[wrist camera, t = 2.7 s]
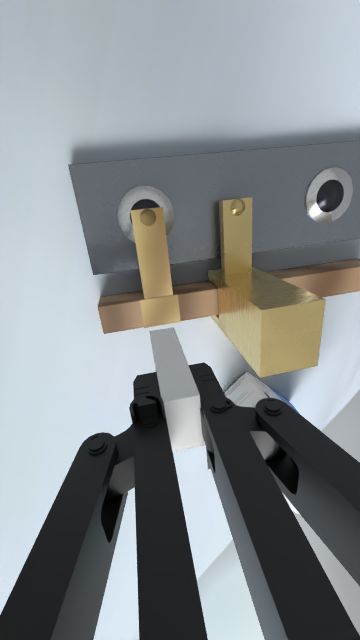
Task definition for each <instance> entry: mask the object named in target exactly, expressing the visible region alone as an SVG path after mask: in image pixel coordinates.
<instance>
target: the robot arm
mask: <svg viewBox="0 0 360 640" xmlns="http://www.w3.org/2000/svg"><path fill="white" fill-rule="evenodd" d="M150 338H151V344H152V350H153V357H154V363H155V369H156V372H154V373H148V374H143V375H137V377H136V379H135V380H134V382H133V385H134V400H133V401H132V403H131V404H130V408H129V409H130V413H131V418H132V422H133V424H132V425H131V426H130V427H129V428H128V429H127V430H126V431H124V432H123V433H121V434H119V435H117V436H115V437H114V436H112V435H111V434H109V433H104V432H103V433H97V434H94V435H92V436H90V437H89V438H87V439H86V440H85V441H84V442H83V443H82V445H81V446H80V448H79V450H78V452H77V454H76V456H75V459H74V461H73V463H72V465H71V467H70V469H69V471H68V473H67V475H66V478H65V480H64V482H63V484H62V486H61V488H60V490H59V492H58V494H57V497H56V499H55V501H54V503H53V505H52V507H51V509H50V511H49V513H48V516H47V518H46V520H45V522H44V524H43V526H42V528H41V530H40V532H39V535H38V537H37V539H36V541H35V543H34V545H33V547H32V549H31V552H30V554H29V556H28V558H27V560H26V562H25V564H24V566H23V568H22V571H21V573H20V575H19V577H18V579H17V581H16V583H15V585H14V587H13V590H12V592H11V594H10V596H9V598H8V600H7V602H6V604H5V606H4V609H3V611H2V613H1V615H0V640H93V638H94V634H95V630H96V626H97V621H98V617H99V613H100V609H101V604H102V600H103V596H104V592H105V588H106V583H107V579H108V575H109V571H110V566H111V562H112V558H113V554H114V550H115V545H116V541H117V537H118V533H119V529H120V524H121V520H122V516H123V512H124V507H125V503H126V499H127V495H128V491H129V490H131V489H132V488H134V487H135V507H136V540H137V573H138V605H139V638H140V640H208V639H207V633H206V628H205V623H204V617H203V612H202V607H201V602H200V596H199V591H198V585H197V580H196V575H195V569H194V564H193V559H192V553H191V548H190V543H189V537H188V532H187V527H186V521H185V516H184V511H183V505H182V500H181V495H180V489H179V484H178V479H177V473H176V468H175V463H174V457H173V452H177V451H182V450H186V449H191V448H195V447H200V446H204V442H205V445H206V450H207V462H208V469H211V470H212V474H213V477H214V480H215V483H216V486H217V490H218V493H219V496H220V499H221V502H222V505H223V509H224V512H225V515H226V518H227V521H228V524H229V528H230V531H231V534H232V537H233V540H234V543H235V547H236V550H237V553H238V556H239V559H240V562H241V566H242V569H243V572H244V575H245V578H246V581H247V585H248V588H249V591H250V594H251V597H252V601H253V604H254V607H255V610H256V613H257V616H258V620H259V623H260V626H261V629H262V632H263V635H264V639H265V640H360V636H359V634H358V632H357V631H356V629H355V627H354V625H353V624H352V622H351V620H350V618H349V616H348V614H347V612H346V610H345V609H344V607H343V605H342V603H341V601H340V599H339V597H338V595H337V594H336V592H335V590H334V588H333V586H332V585H331V582H330V581H329V579H328V577H327V575H326V573H325V571H324V570H323V568H322V566H321V564H320V562H319V560H318V558H317V557H316V555H315V553H314V551H313V549H312V547H311V545H310V544H309V542H308V540H307V538H306V536H305V534H304V532H303V530H302V529H301V527H300V525H299V523H298V521H297V519H296V517H295V515H294V514H293V512H292V510H291V508H290V506H289V504H288V502H287V501H286V499H285V497H284V495H285V496H286V498H287V499H288V500H289V501H290V502H291V504H292V505H293V506H294V507H295V508H296V510H297V511H298V512H299V513H300V514H301V516H302V517H303V518H304V519H305V521H306V522H307V523H308V524H309V525H310V527H311V528H312V529H313V530H314V531H315V533H316V534H317V535H318V536H319V537H320V539H321V540H322V541H323V542H324V544H325V545H326V546H327V547H328V548H329V550H330V551H331V552H332V553H333V554H334V556H335V557H336V558H337V559H338V560H339V562H340V563H341V564H342V565H343V566H344V568H345V569H346V570H347V571H348V573H349V574H350V575H351V576H352V577H353V579H354V580H355V581H356V582H357V583H358V585H359V586H360V463H359V462H358V461H357V460H356V459H354V458H353V457H352V456H351V455H349V454H348V453H347V452H346V451H344V450H343V449H342V448H341V447H340V446H338V445H337V444H336V443H335V442H333V441H332V440H330V438H328V437H327V436H326V435H325V434H323V433H322V432H321V431H320V430H319V429H317V428H316V427H315V426H314V425H312V424H311V423H310V422H309V421H307V420H306V419H305V418H304V417H302V416H301V415H300V414H299V413H297V412H296V411H295V410H294V409H293V408H291V407H290V406H289V405H288V404H286V403H285V402H283V401H282V400H279V399H276V398H264V399H261V400H259V401H258V402H257V404H256V406H255V407H242V406H238V405H235V404H234V403H233V401H232V400H230V399H228V398H227V397H226V396H225V394H224V392H223V390H222V388H221V386H220V384H219V382H218V381H217V379H216V377H215V375H214V373H213V371H212V369H211V367H210V366H208V365H207V364H205V363H199V364H194V365H188V363H187V360H186V358H185V355H184V353H183V350H182V347H181V345H180V342H179V340H178V337H177V334H176V332H175V329H174V328H168V329H162V330H156V331H150ZM283 494H284V495H283Z"/></svg>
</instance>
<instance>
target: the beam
mask: <svg viewBox="0 0 360 640" xmlns="http://www.w3.org/2000/svg"><path fill="white" fill-rule="evenodd" d="M130 212H131V219H132V225H133V231H134V238H135V244H136V250H137V257H138V263H139V269H140V276H141V282H142V288H143V291H137V292H130V293H124V294H117V295H110V296H104V297H100V300H99V304H98V311H99V315H100V319H101V324H102V328H103V332H104V334H106V333H112V332H118V331H124V330H130V329H136V328H142V327H144V328H146V327H152V326H158V325H164V324H170V323H176V322H181V321H184V320H190V319H196V318H202V317H208V316H214V315H219V308H218V287H217V286H216V285H215V284H214V283H213V282H211V281H204V282H197V283H191V284H184V285H177V286H172V281H171V273H170V264H169V255H168V246H167V237H166V228H165V219H164V210H163V207H157V208H148V209H139V210H130ZM266 273H268V274H271V275H273V276H275V277H277V278H279V279H282V280H284V281H286V282H288V283H290V284H293V285H295V286H297V287H299V288H301V289H304V290H306V291H308V292H310V293H312V294H315V295H317V296H319V297H327V296H333V295H339V294H345V293H351V292H357V291H360V259H351V260H345V261H338V262H331V263H325V264H318V265H311V266H305V267H298V268H291V269H284V270H278V271H271V272H266Z"/></svg>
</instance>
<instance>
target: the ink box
mask: <svg viewBox="0 0 360 640" xmlns="http://www.w3.org/2000/svg"><path fill="white" fill-rule="evenodd" d="M224 394H225V396H226V397H227V398H228V399H230V400H232V401H233V403H234V404H235V405H238V406H242V407H255V406H256V404H257V402H258V401H259V400H261V399H264V398H276V399H279V400H282V401H283V402H285V403H286V404H288V405H289V406H290V407H291V408H293V409H294V410H295V411H296V412H297V413H298V411H297V410H296V409H295V408H294V406H293V405H292V404H291V403H290V402H289V401H288V400H286V399H285V398H283V397H282V396H281V395H279V394H278V393H276V392H275V391H274V390H272V389H271V388H269V387H268V386H266V385H265V384H264V383H262V382H261V381H260V380H258V379H257V378H256V377H254V376H253V375H251V374H250V373H249V372H246V373H244V374H243V375H242V376H241V377H240V378H239V379H238V380H237V381H236V382H235V383H234V384H233V385H232V386H231V387H230V388H229V389H228V390H227V391H226V392H225V393H224ZM283 495H284V494H283ZM284 497H285V499H286V501H287V502H288V504H289V506H290V508H291V510H292V511H294V512H295V513H298V514H300V513H299V512H298V511H297V510H296V508H295V507H294V506H293V505H292V504H291V502H290V501H289V500H288V499H287V498H286V496H285V495H284Z"/></svg>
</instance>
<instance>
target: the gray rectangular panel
mask: <svg viewBox="0 0 360 640" xmlns="http://www.w3.org/2000/svg"><path fill="white" fill-rule="evenodd" d="M68 166H69V170H70V175H71V179H72V183H73V188H74V192H75V197H76V201H77V205H78V210H79V214H80V219H81V223H82V227H83V232H84V236H85V241H86V245H87V249H88V254H89V258H90V263H91V267H92V271H93V275H97V274H104V273H111V272H118V271H126V270H133V269H139V263H138V257H137V250H136V244H135V238H134V231H133V225H132V219H131V212H130V210H139V209H148V208H157V207H163V210H164V219H165V228H166V237H167V246H168V255H169V264H177V263H184V262H191V261H198V260H206V259H213V258H220V257H221V243H220V216H219V201H222V200H231V199H240V198H251V197H252V253H256V252H264V251H271V250H278V249H285V248H293V247H300V246H307V245H314V244H322V243H329V242H336V241H343V240H351V239H358V238H360V141H350V142H338V143H326V144H314V145H302V146H290V147H278V148H265V149H253V150H241V151H229V152H217V153H205V154H193V155H181V156H168V157H156V158H144V159H132V160H120V161H108V162H96V163H84V164H72V165H68Z"/></svg>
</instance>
